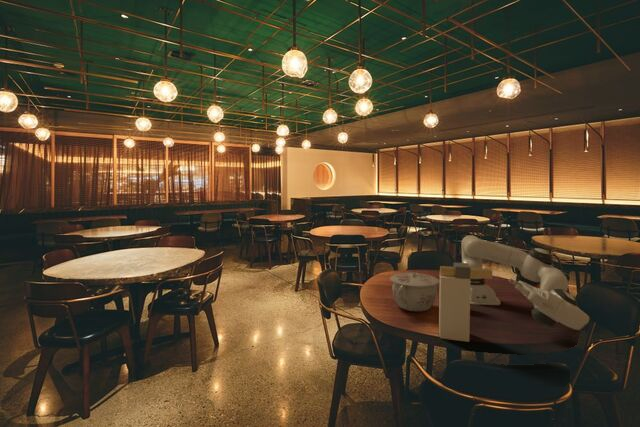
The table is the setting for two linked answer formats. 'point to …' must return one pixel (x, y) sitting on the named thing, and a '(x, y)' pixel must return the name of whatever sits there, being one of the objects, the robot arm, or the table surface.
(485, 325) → the table surface
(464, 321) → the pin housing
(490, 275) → the wooden rectangular plunger
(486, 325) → the table surface
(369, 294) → the table surface
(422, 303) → the chamber pot
